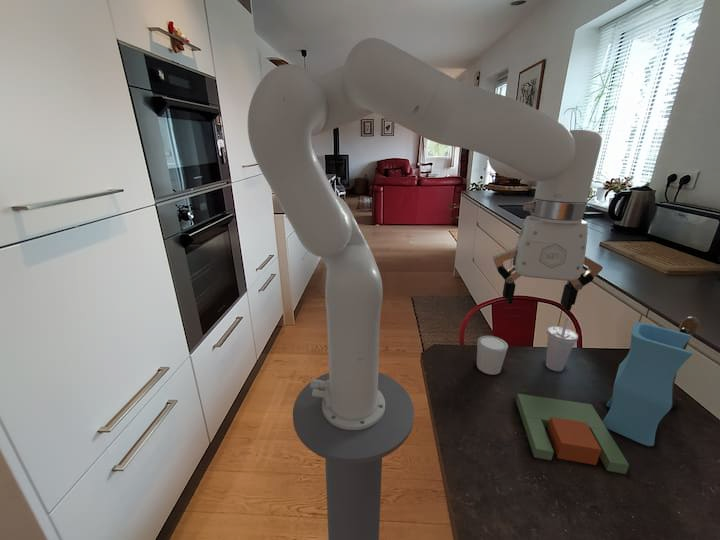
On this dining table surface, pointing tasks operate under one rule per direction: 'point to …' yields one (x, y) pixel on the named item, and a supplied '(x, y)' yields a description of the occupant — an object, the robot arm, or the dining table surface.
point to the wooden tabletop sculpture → (687, 327)
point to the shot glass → (490, 354)
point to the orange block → (573, 441)
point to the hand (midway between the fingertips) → (536, 304)
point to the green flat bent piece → (541, 409)
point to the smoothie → (559, 346)
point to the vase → (646, 382)
